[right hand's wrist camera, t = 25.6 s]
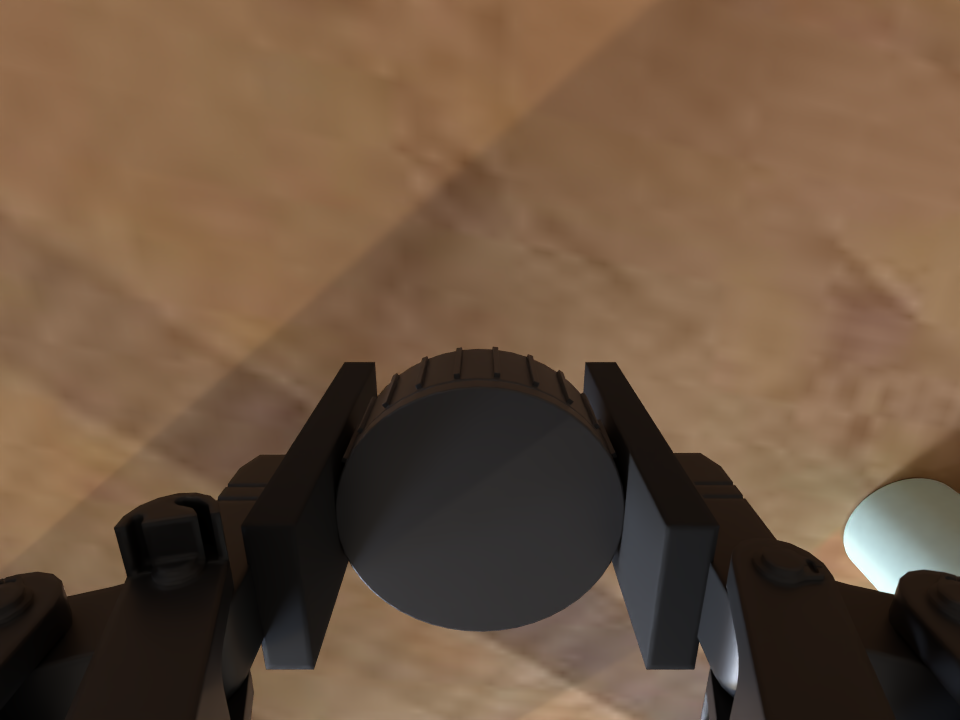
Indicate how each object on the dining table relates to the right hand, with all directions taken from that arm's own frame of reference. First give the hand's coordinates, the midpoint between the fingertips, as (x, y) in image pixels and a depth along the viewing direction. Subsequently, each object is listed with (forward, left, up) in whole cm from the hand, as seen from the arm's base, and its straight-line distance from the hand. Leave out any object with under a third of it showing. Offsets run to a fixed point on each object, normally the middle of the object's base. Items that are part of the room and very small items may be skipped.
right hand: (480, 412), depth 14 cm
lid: (0, 0, +4) cm, 4 cm away
